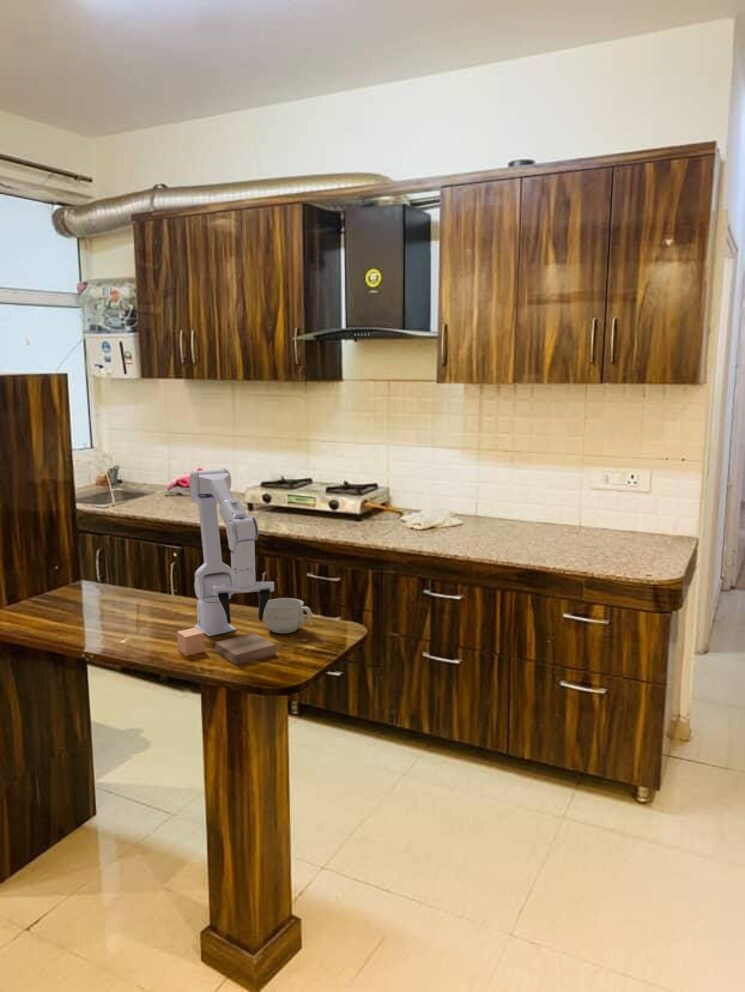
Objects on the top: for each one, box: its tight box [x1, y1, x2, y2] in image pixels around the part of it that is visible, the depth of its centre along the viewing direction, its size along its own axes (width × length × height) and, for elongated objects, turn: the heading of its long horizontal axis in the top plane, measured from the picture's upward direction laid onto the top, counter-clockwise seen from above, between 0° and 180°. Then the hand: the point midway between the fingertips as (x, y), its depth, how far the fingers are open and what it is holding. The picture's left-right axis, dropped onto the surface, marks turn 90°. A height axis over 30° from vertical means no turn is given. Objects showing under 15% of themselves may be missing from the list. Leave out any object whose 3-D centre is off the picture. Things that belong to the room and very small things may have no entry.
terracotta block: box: [176, 627, 206, 657], centre depth 191 cm, size 5×5×5 cm
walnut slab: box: [214, 632, 277, 666], centre depth 190 cm, size 11×11×3 cm
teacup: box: [263, 597, 313, 634], centre depth 205 cm, size 14×11×8 cm
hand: (244, 620), depth 185 cm, fingers open, 7 cm apart
